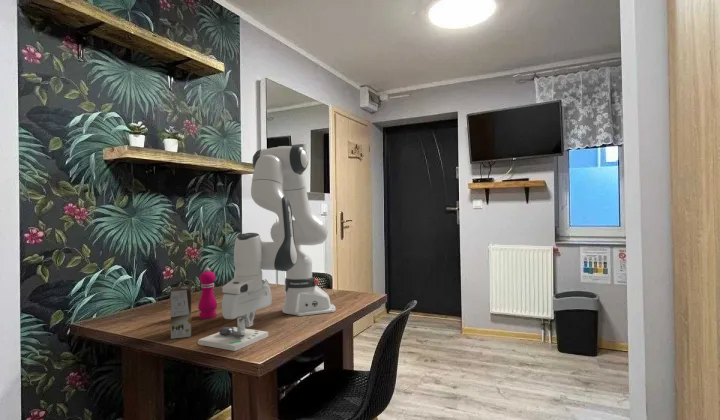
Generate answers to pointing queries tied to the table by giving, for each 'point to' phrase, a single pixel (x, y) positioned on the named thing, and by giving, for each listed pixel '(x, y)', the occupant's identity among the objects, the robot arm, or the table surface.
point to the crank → (238, 333)
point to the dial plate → (233, 339)
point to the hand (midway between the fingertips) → (248, 326)
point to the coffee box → (180, 312)
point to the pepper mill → (207, 295)
